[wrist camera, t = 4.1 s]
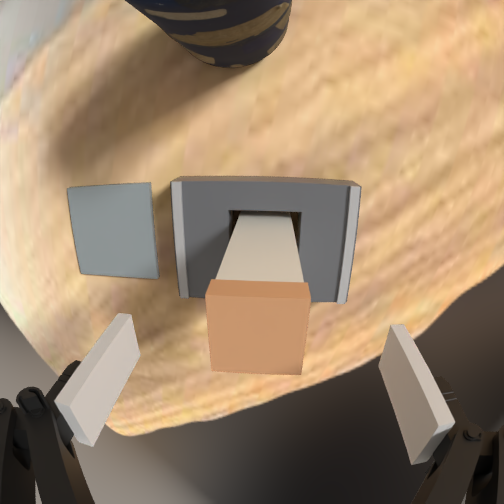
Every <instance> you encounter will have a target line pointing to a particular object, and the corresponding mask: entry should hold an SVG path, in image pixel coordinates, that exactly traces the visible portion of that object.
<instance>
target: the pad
mask: <svg viewBox="0 0 504 504" xmlns="http://www.w3.org/2000/svg"><path fill="white" fill-rule="evenodd" d="M67 192H68V200H69V208H70V215H71V222H72V228H73V234H74V240H75V246H76V251H77V256H78V261H79V266H80V271H81V274H93V275H106V276H120V277H135V278H150V279H158V278H159V277H160V275H159V267H158V258H157V249H156V239H155V229H154V217H153V204H152V190H151V182H150V183H127V184H109V185H94V186H80V187H70V188H67Z"/></svg>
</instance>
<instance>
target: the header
mask: <svg viewBox="0 0 504 504" xmlns="http://www.w3.org/2000/svg"><path fill="white" fill-rule="evenodd" d="M170 186H171V205H172V220H173V234H174V246H175V258H176V269H177V279H178V288H179V296H180V297H181V298H188V299H189V297H198V298H205V294H206V292H207V289H208V287H209V284H210V281H211V279H216V276H217V274H218V271H219V268H220V266H221V263H222V260H223V258H224V255H225V252H226V250H227V247H228V244H229V242H230V239H231V236H232V234H233V210H255V211H288V212H298V228H297V249H298V254H299V259H300V264H301V269H302V275H303V280H304V282H308V286H309V291H310V296H311V302H337V304H345V302H347V296H348V290H349V284H350V278H351V271H352V265H353V258H354V250H355V243H356V235H357V226H358V217H359V208H360V198H361V186H360V185H358V184H357V183H355V182H354V181H347V180H333V179H316V178H296V177H266V176H180V177H178V178H176V179H174V180H172V181H170Z"/></svg>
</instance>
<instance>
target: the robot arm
mask: <svg viewBox="0 0 504 504" xmlns="http://www.w3.org/2000/svg"><path fill="white" fill-rule="evenodd" d="M140 356H141V355H140V351H139V347H138V343H137V338H136V334H135V329H134V325H133V320H132V315H131V314H124V313H118V314H117V315H116V317H115V318H114V319H113V321H112V322H111V323H110V325H109V326H108V327H107V328H106V330H105V331H104V332H103V334H102V335H101V336H100V338H99V339H98V340H97V342H96V343H95V344H94V346H93V347H92V348H91V350H90V351H89V353H88V354H87V355H86V357H85V358H84V359H83V361H82V362H81V361H77V360H76V361H74V362H73V363H71V364H70V365H68V366H67V368H66V369H65V370H64V372H63V373H62V375H61V376H60V377H59V379H58V381H56V383H55V384H54V385H53V387H52V388H51V390H50V391H49V392H48V394H47V395H46V397H44V395H43V393H42V391H41V390H40V389H39V388H36V387H27V388H25V389H23V390H22V391H20V392H19V394H18V395H17V398H16V402H17V403H18V405H19V408H18V407H13V405H12V404H11V402H10V401H9V400H8V399H4V398H1V399H0V504H36V501H35V500H36V499H35V479H36V483H37V486H38V490H39V494H40V498H41V501H42V504H95V502H94V500H93V498H92V496H91V493H90V490H89V488H88V485H87V483H86V480H85V477H84V475H83V472H82V469H81V466H80V464H79V461H78V458H77V455H76V451H75V448H74V445H73V443H72V441H71V439H72V437H73V435H75V437H76V438H77V440H78V442H80V443H83V444H86V445H89V446H92V447H93V446H94V444H95V442H96V440H97V438H98V436H99V434H100V432H101V430H102V428H103V426H104V424H105V422H106V420H107V418H108V416H109V414H110V412H111V410H112V408H113V406H114V404H115V403H116V401H117V399H118V397H119V395H120V393H121V391H122V389H123V387H124V385H125V383H126V382H127V380H128V378H129V376H130V374H131V372H132V370H133V369H134V367H135V365H136V363H137V361H138V359H139V357H140ZM379 369H380V371H381V374H382V377H383V379H384V382H385V385H386V388H387V391H388V394H389V396H390V399H391V402H392V405H393V408H394V411H395V414H396V417H397V420H398V423H399V426H400V429H401V432H402V435H403V439H404V441H405V445H406V448H407V451H408V455H409V458H410V461H411V465H413V464H417V463H422V462H426V461H428V459H429V458H430V457H431V456H432V454H433V456H434V458H435V461H434V462H433V464H432V465H431V466H430V468H428V470H427V471H426V472H425V473H428V474H427V476H426V477H425V480H424V481H423V483H422V485H421V487H420V489H419V490H418V492H417V494H416V496H415V498H414V499H413V501H412V503H411V504H461V503H462V501H463V498H464V496H465V494H466V500H465V504H504V425H503V426H502V427H501V428H500V429H499V431H498V432H484V431H483V430H482V429H481V428H480V427H479V426H478V425H476V424H474V423H469V421H468V419H467V417H466V415H465V413H464V411H463V409H462V407H461V405H460V403H459V402H458V400H457V399H456V396H455V394H454V393H453V390H452V388H451V386H450V385H449V383H448V382H447V381H446V380H445V379H443V378H442V377H434V378H433V376H432V374H431V372H430V370H429V368H428V367H427V365H426V363H425V361H424V359H423V357H422V356H421V354H420V352H419V350H418V348H417V346H416V345H415V343H414V341H413V339H412V338H411V336H410V334H409V332H408V331H407V329H406V327H405V325H404V324H401V325H390V329H389V333H388V336H387V340H386V343H385V346H384V350H383V353H382V356H381V359H380V363H379ZM466 491H467V493H466Z"/></svg>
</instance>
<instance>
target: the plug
mask: <svg viewBox="0 0 504 504" xmlns="http://www.w3.org/2000/svg"><path fill="white" fill-rule="evenodd" d="M205 299H206V312H207V325H208V337H209V348H210V359H211V370H212V371H219V372H233V373H251V374H277V375H301V372H302V365H303V358H304V351H305V344H306V336H307V329H308V321H309V313H310V304H311V296H310V291H309V286H308V282H304V280H303V275H302V269H301V264H300V259H299V254H298V249H297V244H296V239H295V234H294V229H293V225H292V220H291V215H290V212H280V211H243V210H241V213H240V215H239V218H238V221H237V223H236V226H235V228H234V231H233V234H232V236H231V239H230V242H229V244H228V247H227V250H226V252H225V255H224V258H223V260H222V263H221V266H220V268H219V271H218V274H217V276H216V279H211V281H210V284H209V287H208V289H207V292H206V294H205Z"/></svg>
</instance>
